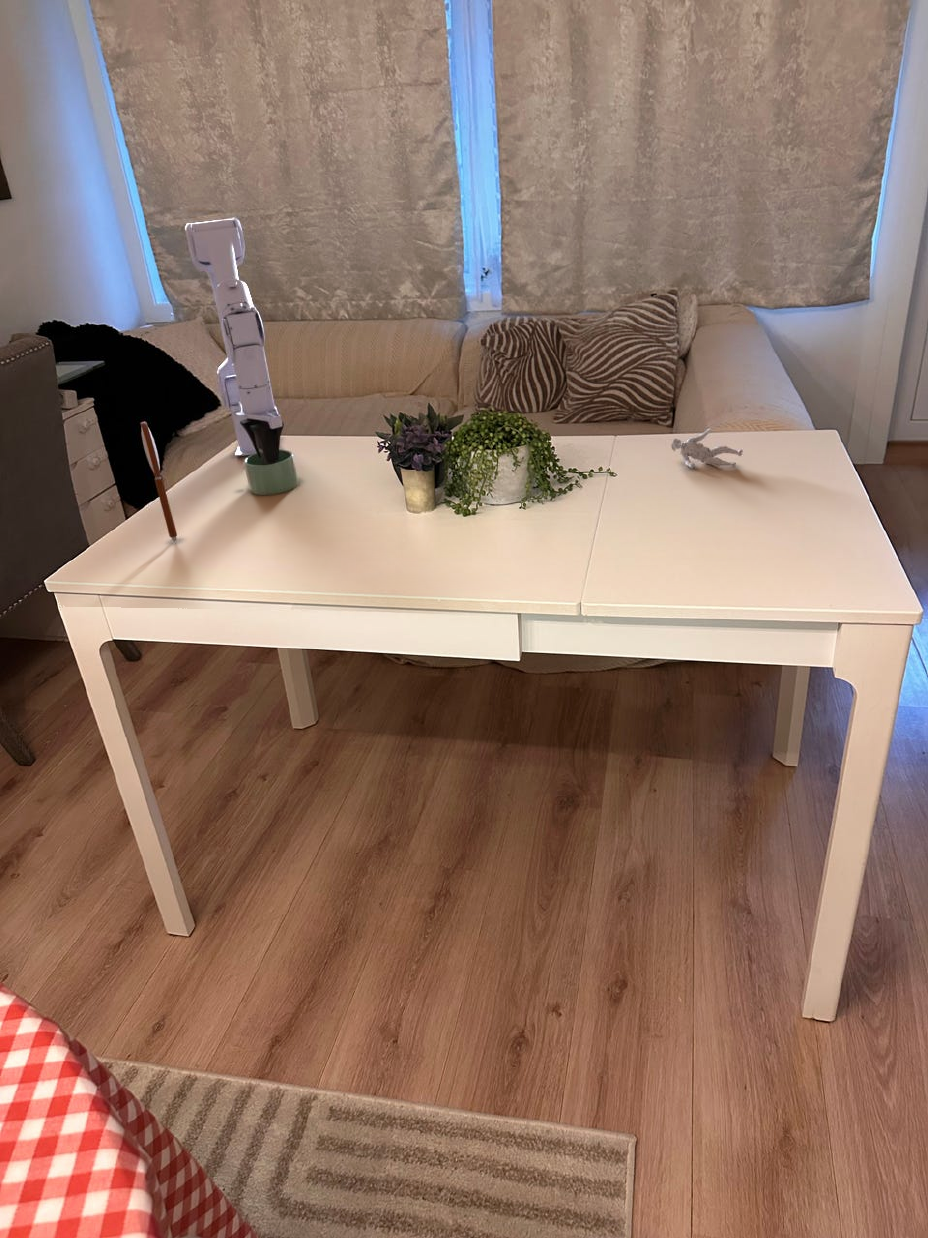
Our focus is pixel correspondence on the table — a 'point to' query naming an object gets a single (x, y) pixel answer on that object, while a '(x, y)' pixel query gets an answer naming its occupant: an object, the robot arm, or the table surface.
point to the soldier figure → (703, 451)
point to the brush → (262, 453)
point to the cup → (271, 474)
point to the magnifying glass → (158, 478)
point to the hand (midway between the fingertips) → (268, 458)
